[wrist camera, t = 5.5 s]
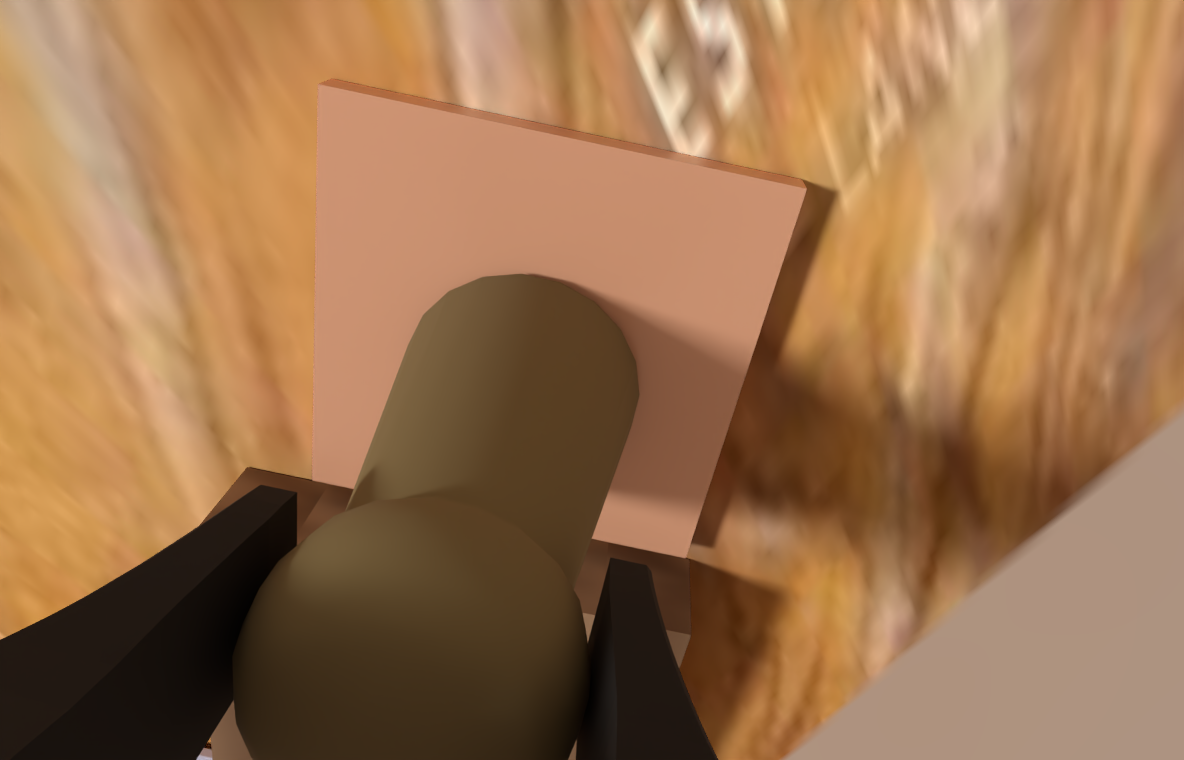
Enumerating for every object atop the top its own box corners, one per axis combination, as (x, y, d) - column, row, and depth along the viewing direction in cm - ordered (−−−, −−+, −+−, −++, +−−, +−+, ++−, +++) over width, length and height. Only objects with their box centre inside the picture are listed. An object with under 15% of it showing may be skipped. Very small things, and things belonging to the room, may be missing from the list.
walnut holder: (257, 749, 30) (217, 825, 28) (247, 467, 24) (194, 531, 21) (602, 819, 30) (596, 902, 28) (689, 559, 24) (691, 635, 21)
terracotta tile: (322, 464, 23) (312, 480, 23) (331, 78, 18) (317, 84, 17) (685, 540, 23) (685, 558, 23) (802, 179, 18) (807, 188, 17)
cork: (492, 222, 18) (287, 502, 8) (689, 375, 20) (709, 770, 10) (361, 396, 21) (85, 770, 11) (545, 522, 22) (445, 956, 12)
